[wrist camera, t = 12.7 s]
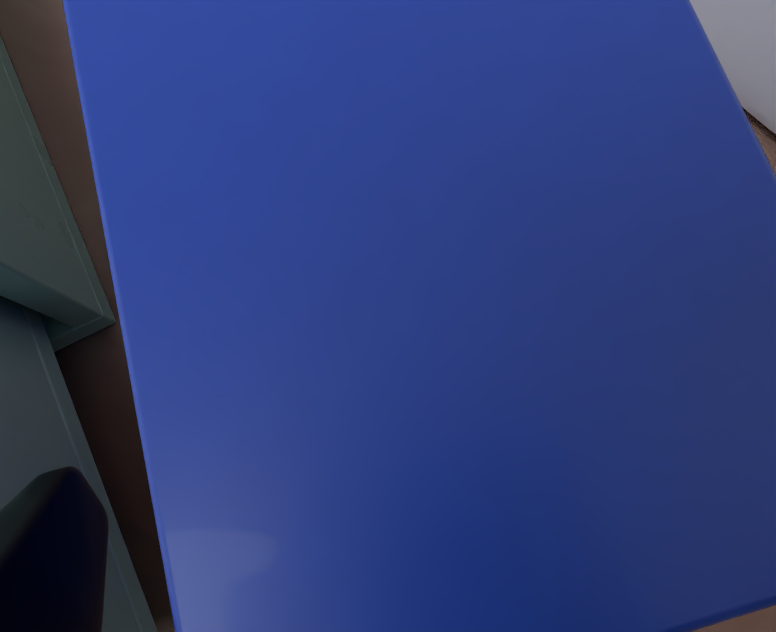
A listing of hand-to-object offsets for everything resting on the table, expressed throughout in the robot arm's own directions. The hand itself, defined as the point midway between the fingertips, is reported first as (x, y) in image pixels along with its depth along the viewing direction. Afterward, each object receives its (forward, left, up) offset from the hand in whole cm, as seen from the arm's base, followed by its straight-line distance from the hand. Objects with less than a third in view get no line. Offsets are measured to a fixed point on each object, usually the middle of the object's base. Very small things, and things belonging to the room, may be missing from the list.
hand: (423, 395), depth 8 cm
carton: (+1, 0, -8) cm, 8 cm away
